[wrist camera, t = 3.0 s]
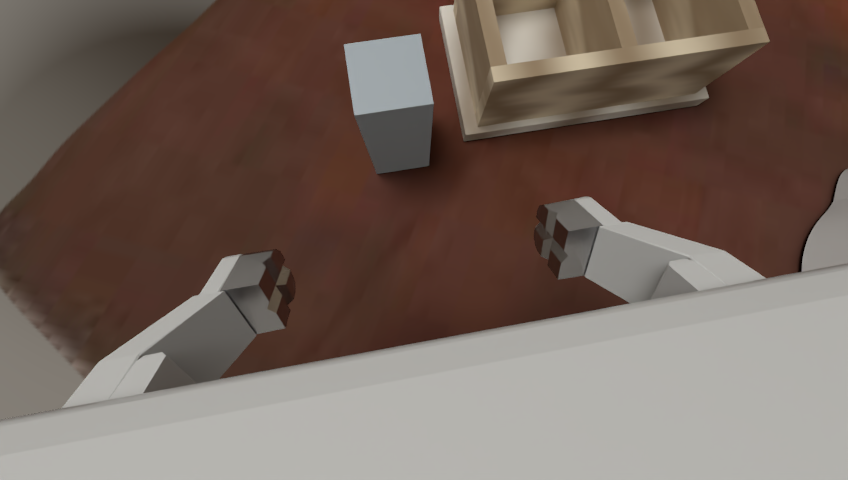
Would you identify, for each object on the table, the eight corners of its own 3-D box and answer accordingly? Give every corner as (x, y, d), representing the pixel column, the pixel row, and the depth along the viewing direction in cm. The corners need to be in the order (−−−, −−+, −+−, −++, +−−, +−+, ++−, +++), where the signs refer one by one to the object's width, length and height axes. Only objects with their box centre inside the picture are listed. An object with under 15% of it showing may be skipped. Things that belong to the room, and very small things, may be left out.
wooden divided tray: (658, -13, 26) (731, -103, 20) (697, 105, 24) (788, 46, 18) (438, 17, 25) (444, -66, 19) (463, 141, 23) (478, 92, 17)
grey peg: (420, 118, 24) (420, 33, 16) (428, 165, 23) (433, 103, 15) (369, 125, 23) (343, 44, 16) (376, 174, 23) (354, 115, 15)
